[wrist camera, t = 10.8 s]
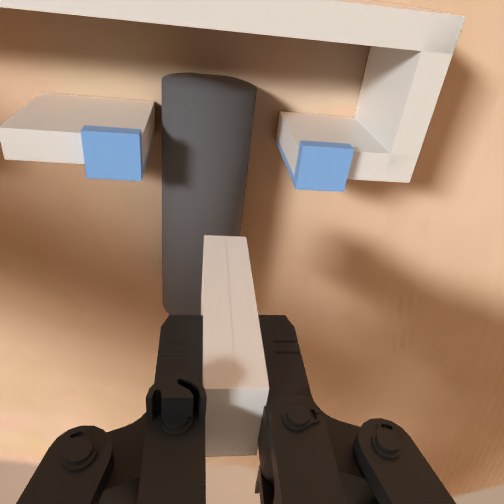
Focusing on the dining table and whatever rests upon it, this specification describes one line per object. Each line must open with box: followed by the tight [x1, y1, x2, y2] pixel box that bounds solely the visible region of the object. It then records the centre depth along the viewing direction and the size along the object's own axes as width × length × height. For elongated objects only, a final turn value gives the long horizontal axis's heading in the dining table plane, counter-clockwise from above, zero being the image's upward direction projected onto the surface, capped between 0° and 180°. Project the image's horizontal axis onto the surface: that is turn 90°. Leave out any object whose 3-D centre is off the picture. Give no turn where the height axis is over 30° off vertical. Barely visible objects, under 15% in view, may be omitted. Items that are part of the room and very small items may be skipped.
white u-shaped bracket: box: [0, 0, 466, 192], centre depth 16 cm, size 26×6×6 cm, turn 84°
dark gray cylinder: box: [162, 73, 257, 315], centre depth 21 cm, size 12×4×4 cm, turn 174°
